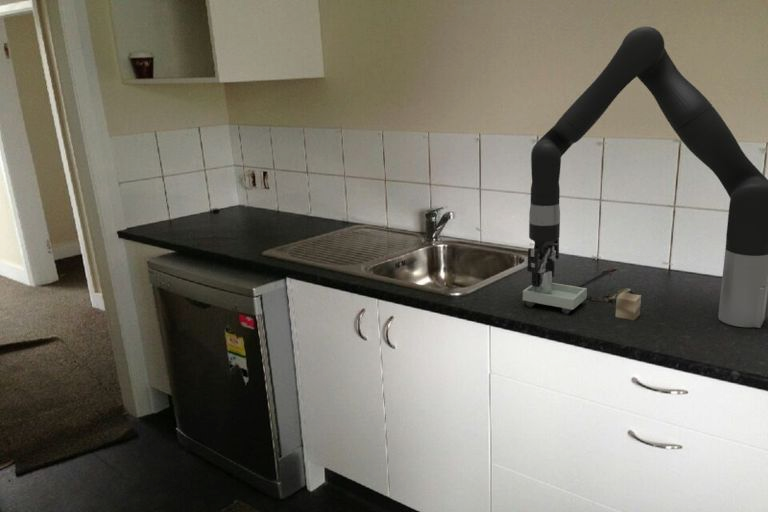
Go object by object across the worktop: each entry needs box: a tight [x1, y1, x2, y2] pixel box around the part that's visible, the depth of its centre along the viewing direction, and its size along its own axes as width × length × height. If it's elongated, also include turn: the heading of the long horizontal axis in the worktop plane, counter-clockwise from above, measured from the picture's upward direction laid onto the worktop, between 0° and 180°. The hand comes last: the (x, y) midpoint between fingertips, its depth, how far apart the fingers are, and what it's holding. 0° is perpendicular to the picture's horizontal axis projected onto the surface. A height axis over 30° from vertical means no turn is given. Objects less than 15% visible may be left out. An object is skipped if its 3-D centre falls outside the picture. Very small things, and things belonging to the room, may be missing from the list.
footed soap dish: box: [522, 282, 588, 315], centre depth 166 cm, size 13×9×4 cm
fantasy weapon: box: [576, 266, 635, 303], centre depth 178 cm, size 29×2×15 cm
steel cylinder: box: [534, 268, 553, 295], centre depth 167 cm, size 4×4×6 cm
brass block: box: [615, 292, 642, 321], centre depth 157 cm, size 4×4×5 cm
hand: (543, 281), depth 167 cm, fingers open, 8 cm apart
